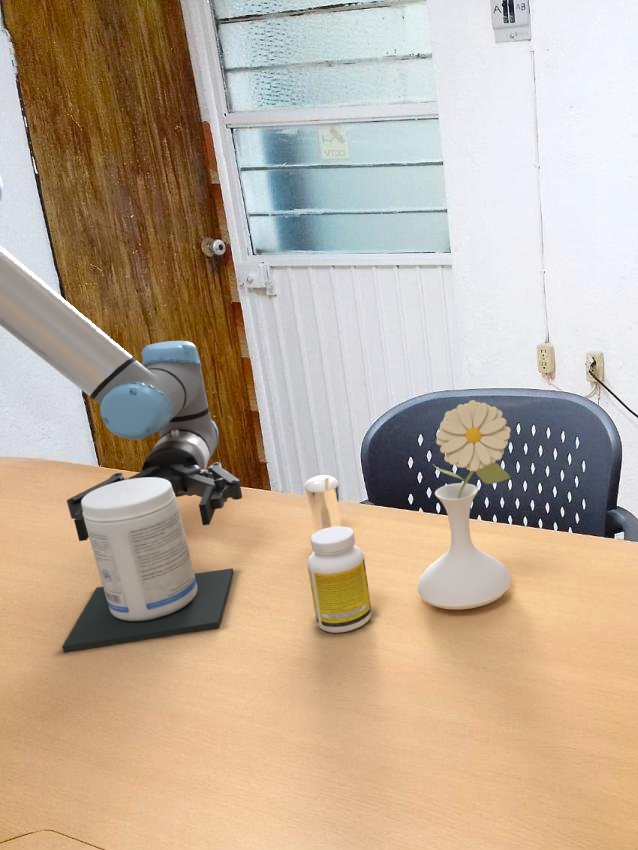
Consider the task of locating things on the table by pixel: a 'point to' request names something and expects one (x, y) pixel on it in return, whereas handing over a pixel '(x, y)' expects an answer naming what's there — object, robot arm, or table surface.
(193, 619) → the mat
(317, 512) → the milkshake
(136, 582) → the supplement tub
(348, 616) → the pill bottle
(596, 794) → the table surface
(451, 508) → the flower in vase
